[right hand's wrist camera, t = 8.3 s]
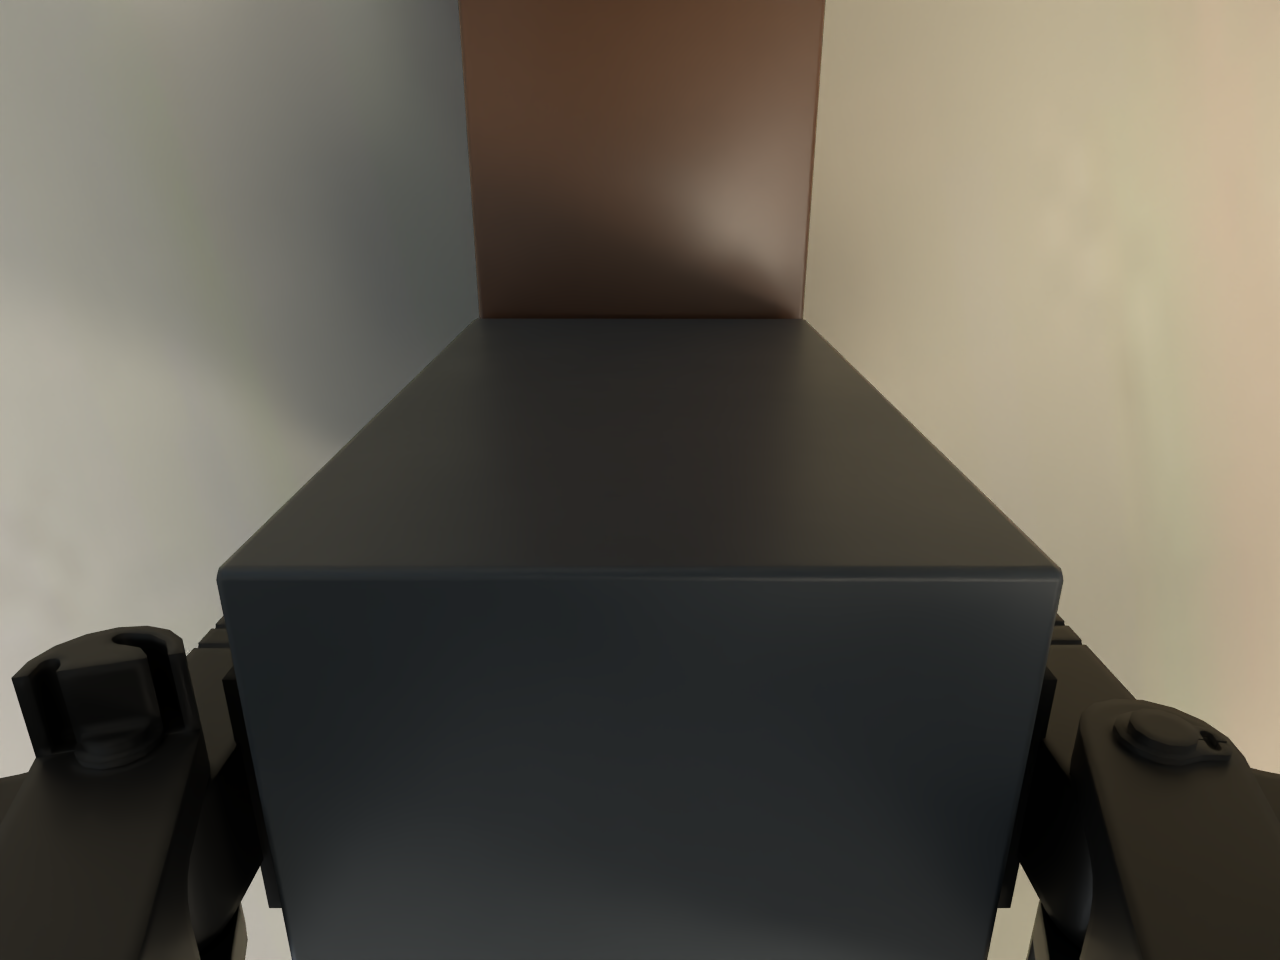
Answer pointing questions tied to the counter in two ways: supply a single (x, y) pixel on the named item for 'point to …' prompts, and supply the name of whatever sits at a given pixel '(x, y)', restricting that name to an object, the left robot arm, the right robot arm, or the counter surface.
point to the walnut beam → (641, 156)
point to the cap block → (639, 661)
